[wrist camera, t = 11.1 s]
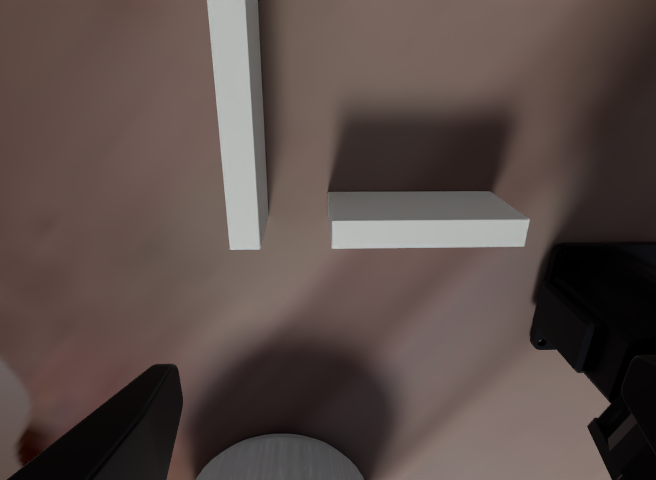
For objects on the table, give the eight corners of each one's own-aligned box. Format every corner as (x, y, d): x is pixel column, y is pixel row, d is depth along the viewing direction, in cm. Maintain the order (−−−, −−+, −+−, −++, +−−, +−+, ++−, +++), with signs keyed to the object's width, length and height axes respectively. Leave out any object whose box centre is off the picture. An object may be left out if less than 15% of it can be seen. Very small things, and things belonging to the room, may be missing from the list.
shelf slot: (537, -89, 16) (605, -134, 12) (485, 214, 21) (524, 246, 17) (220, -98, 15) (193, -148, 12) (243, 215, 20) (229, 249, 17)
